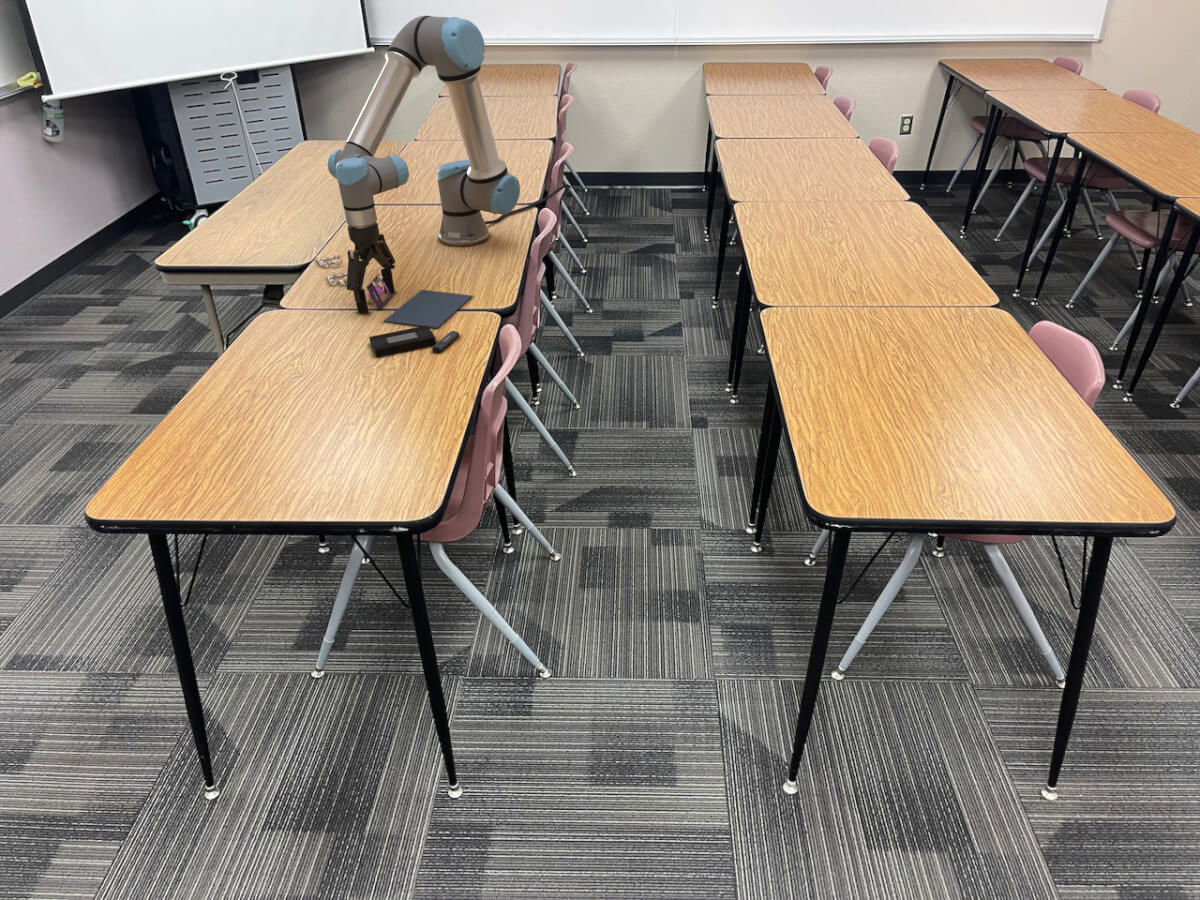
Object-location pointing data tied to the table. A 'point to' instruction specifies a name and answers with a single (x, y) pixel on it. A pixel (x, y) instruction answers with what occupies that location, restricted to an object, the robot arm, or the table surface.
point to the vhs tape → (402, 340)
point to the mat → (428, 309)
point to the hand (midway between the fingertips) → (377, 302)
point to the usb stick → (445, 341)
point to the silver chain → (332, 271)
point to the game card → (377, 291)
